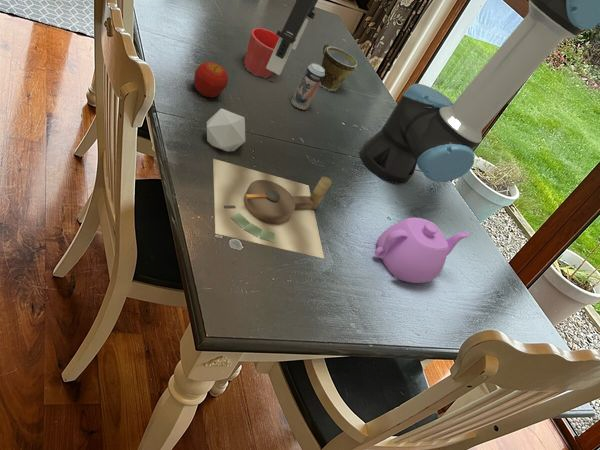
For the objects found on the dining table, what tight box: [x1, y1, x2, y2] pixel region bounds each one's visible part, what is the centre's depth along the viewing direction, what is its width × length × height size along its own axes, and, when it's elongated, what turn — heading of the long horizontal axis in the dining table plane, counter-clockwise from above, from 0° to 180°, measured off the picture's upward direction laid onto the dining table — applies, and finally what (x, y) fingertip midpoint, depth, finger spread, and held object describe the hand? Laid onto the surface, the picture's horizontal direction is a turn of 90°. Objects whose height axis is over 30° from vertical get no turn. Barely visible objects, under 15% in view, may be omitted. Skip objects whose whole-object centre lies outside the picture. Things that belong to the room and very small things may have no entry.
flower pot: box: [243, 27, 279, 78], centre depth 156 cm, size 11×11×10 cm
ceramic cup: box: [321, 44, 358, 91], centre depth 169 cm, size 13×10×10 cm
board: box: [212, 158, 325, 260], centre depth 115 cm, size 22×22×1 cm
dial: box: [244, 176, 333, 224], centre depth 115 cm, size 18×10×7 cm, turn 119°
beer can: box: [291, 62, 325, 110], centre depth 151 cm, size 5×5×12 cm
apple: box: [194, 61, 229, 98], centre depth 136 cm, size 8×8×8 cm
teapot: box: [374, 217, 471, 284], centre depth 120 cm, size 20×13×12 cm, turn 110°
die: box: [206, 107, 246, 152], centre depth 123 cm, size 8×9×10 cm
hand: (281, 58), depth 108 cm, fingers open, 13 cm apart
